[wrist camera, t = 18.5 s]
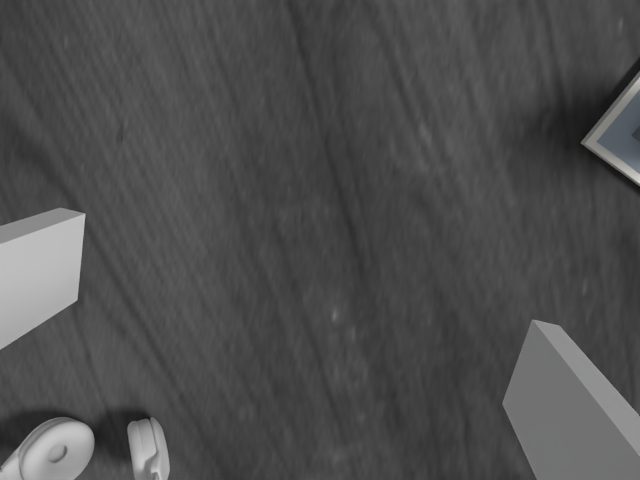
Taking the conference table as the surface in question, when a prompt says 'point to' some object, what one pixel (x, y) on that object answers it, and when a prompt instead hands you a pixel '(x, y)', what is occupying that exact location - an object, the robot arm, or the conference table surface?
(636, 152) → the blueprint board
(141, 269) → the conference table surface
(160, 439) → the headphones
